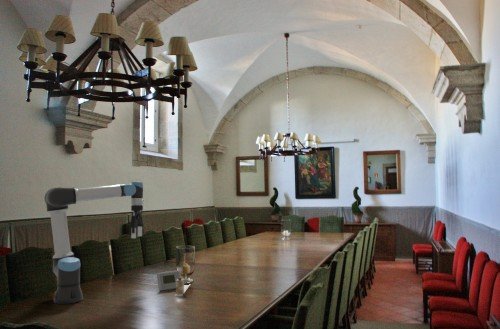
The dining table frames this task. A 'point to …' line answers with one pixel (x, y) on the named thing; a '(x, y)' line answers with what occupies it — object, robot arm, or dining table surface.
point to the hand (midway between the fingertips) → (136, 237)
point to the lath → (184, 290)
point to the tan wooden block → (179, 286)
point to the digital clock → (168, 280)
